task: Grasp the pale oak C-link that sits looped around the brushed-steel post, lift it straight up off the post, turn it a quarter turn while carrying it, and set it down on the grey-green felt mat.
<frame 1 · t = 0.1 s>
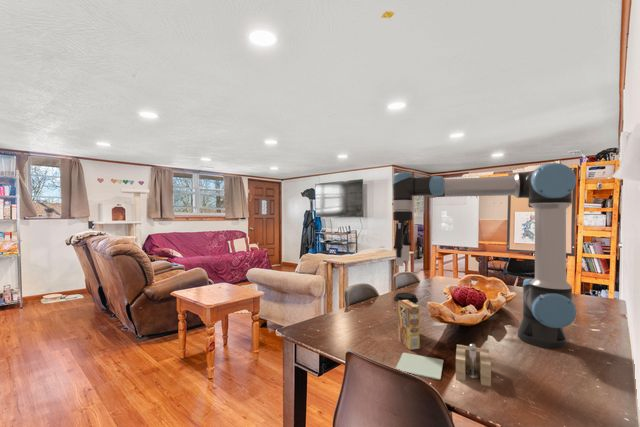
hand: (402, 263, 128), 28 cm above the table, fingers open, 13 cm apart
candy box: (408, 345, 115), on the table
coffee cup: (405, 332, 128), on the table
felt mat: (420, 365, 99), on the table
c link: (472, 373, 94), on the table
stand: (472, 376, 93), on the table
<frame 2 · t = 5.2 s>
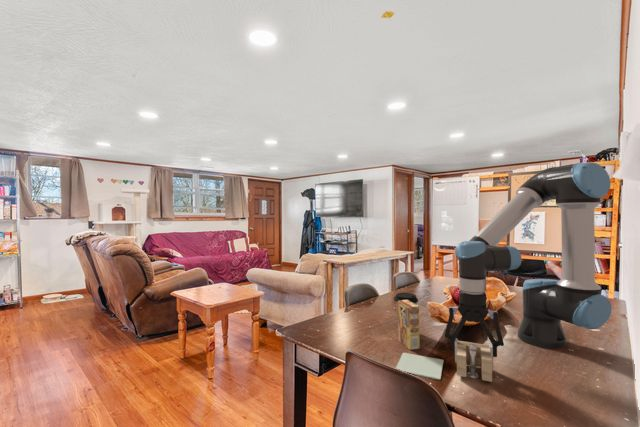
hand: (473, 363, 98), 1 cm above the table, fingers closed on c link, 9 cm apart
c link: (473, 369, 94), point 1 cm above the table, touching gripper
everything else where it was.
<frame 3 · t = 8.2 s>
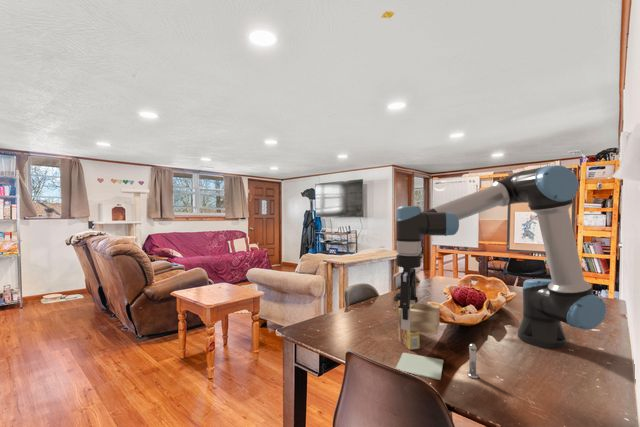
hand: (408, 324, 101), 13 cm above the table, fingers closed on c link, 9 cm apart
c link: (419, 326, 99), point 12 cm above the table, touching gripper
everything else where it was.
when the fingers open (1 cm above the table, at t = 11.1 s): c link stays where it is, resting on felt mat.
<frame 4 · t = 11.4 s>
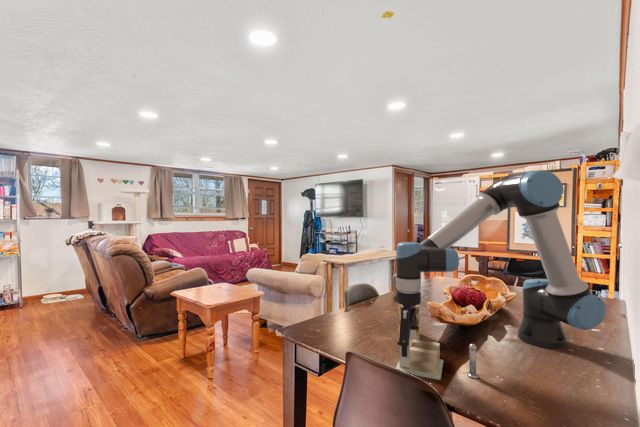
hand: (408, 357, 101), 2 cm above the table, fingers open, 13 cm apart
c link: (420, 364, 99), resting on felt mat
everything else where it was.
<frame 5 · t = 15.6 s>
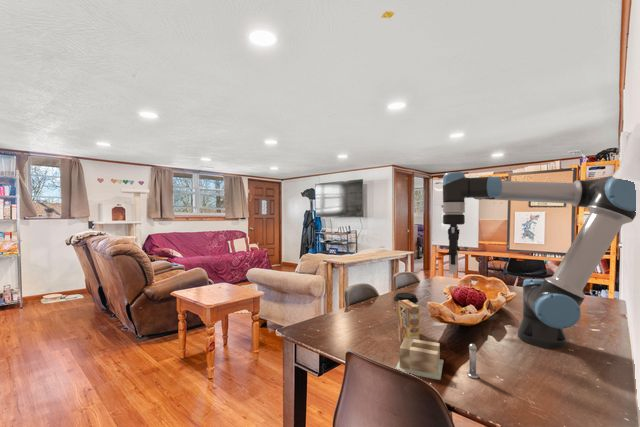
hand: (453, 270, 118), 27 cm above the table, fingers open, 13 cm apart
nothing on the table moved.
at the end: c link inside the target area on the felt mat (0.0 cm from its centre), point 0.4 cm above the felt mat's base; c link 15.0 cm from the stand (horizontally); the gripper is holding nothing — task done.
